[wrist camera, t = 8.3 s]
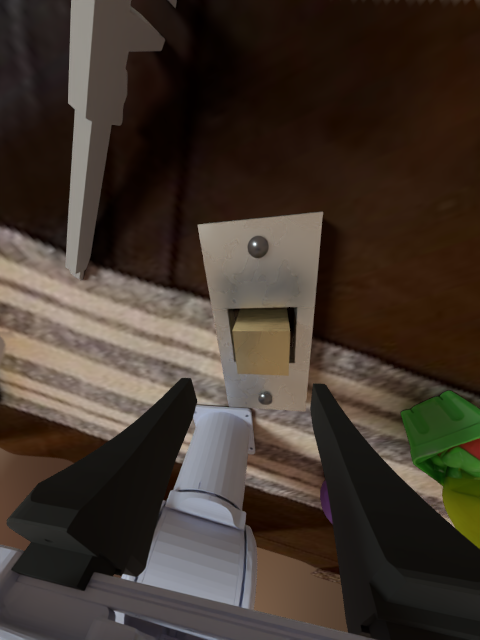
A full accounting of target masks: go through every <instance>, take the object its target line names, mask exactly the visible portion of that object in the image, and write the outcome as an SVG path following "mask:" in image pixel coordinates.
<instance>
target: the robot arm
mask: <svg viewBox="0 0 480 640" xmlns="http://www.w3.org/2000/svg"><path fill="white" fill-rule="evenodd" d="M196 404H197V399H196V395H195V391H194V387H193V384H192V380H191V378H181V379H180V380H179V381H178V382H177V383H176V384H175V385H174V386H173V387H172V388H171V389H170V390H169V391H168V392H167V393H166V394H165V395H164V396H163V397H162V398H161V399H160V400H159V401H158V402H157V403H155V404H154V405H153V406H152V407H151V408H150V409H149V410H148V411H147V412H145V413H144V414H143V415H142V416H141V417H140V418H139V419H137V420H136V421H135V422H134V423H133V424H131V425H130V426H129V427H128V428H126V429H125V430H124V431H122V432H121V433H120V434H118V435H117V436H116V437H114V438H113V439H111V440H110V441H108V442H107V443H105V444H104V445H103V446H101V447H100V448H98V449H97V450H95V451H94V452H92V453H91V454H89V455H87V456H86V457H84V458H83V459H81V460H79V461H78V462H76V463H74V464H73V465H71V466H69V467H68V468H66V469H64V470H62V471H60V472H58V473H57V474H55V475H53V476H51V477H50V478H48V479H46V480H44V481H42V482H40V483H38V485H37V486H36V487H35V488H34V489H33V490H32V491H31V493H30V494H29V495H28V496H27V497H26V498H25V500H24V501H23V502H22V503H21V504H20V505H19V506H18V508H17V509H16V510H15V511H14V512H13V513H12V515H11V516H10V517H9V518H8V519H7V526H8V527H9V528H11V529H12V530H13V531H15V532H16V533H18V534H19V535H21V536H23V537H24V538H26V539H27V540H29V541H30V542H31V543H30V545H29V546H28V547H27V549H26V550H25V551H23V550H20V549H17V548H13V547H9V546H4V545H0V640H480V549H479V548H478V547H477V546H475V545H474V544H473V543H472V542H471V541H470V540H468V539H467V538H466V537H465V536H464V535H462V534H461V533H460V532H459V531H458V530H457V529H455V528H454V527H453V526H452V525H451V524H450V523H449V522H447V521H446V520H445V519H444V518H443V517H442V516H441V515H440V514H438V513H437V512H436V511H435V510H434V509H433V508H432V507H431V506H430V505H429V504H427V503H426V502H425V501H424V500H423V499H422V498H421V497H420V496H419V495H418V494H417V493H416V492H415V491H414V490H413V489H412V488H411V487H410V486H409V485H408V484H407V483H406V482H405V481H403V480H402V479H401V478H400V477H399V476H398V475H397V474H396V473H395V472H394V471H393V470H392V468H391V467H390V466H389V465H388V464H387V463H386V462H385V461H384V460H383V459H382V458H381V457H380V456H379V455H378V453H377V452H376V451H375V450H374V449H373V448H372V447H371V446H370V444H369V443H368V442H367V441H366V440H365V439H364V437H363V436H362V435H361V434H360V432H359V431H358V430H357V429H356V427H355V426H354V425H353V424H352V422H351V421H350V420H349V418H348V417H347V416H346V414H345V413H344V411H343V410H342V409H341V407H340V406H339V404H338V403H337V401H336V400H335V398H334V397H333V395H332V394H331V392H330V391H329V389H328V387H327V386H326V385H325V384H313V389H312V398H311V407H310V410H311V417H312V424H313V430H314V434H315V438H316V442H317V446H318V450H319V454H320V458H321V462H322V466H323V471H324V475H325V480H326V484H327V490H328V497H329V503H330V509H331V515H332V522H333V528H334V535H335V542H336V549H337V556H338V563H339V570H340V578H341V585H342V593H343V599H344V600H343V601H344V608H345V616H346V623H347V628H348V633H347V632H343V631H339V630H334V629H330V628H326V627H322V626H318V625H314V624H309V623H305V622H301V621H297V620H293V619H288V618H284V617H280V616H276V615H272V614H267V613H263V612H259V611H255V610H254V603H255V594H256V582H257V548H256V541H255V538H254V536H253V534H252V530H251V528H250V527H249V526H247V525H245V519H246V512H244V511H242V504H243V498H244V488H245V479H246V469H247V459H248V454H255V442H254V432H253V422H252V412H251V410H250V409H248V408H235V407H219V406H203V405H196ZM192 419H194V422H195V425H196V429H195V431H194V434H193V437H192V440H191V442H190V445H189V448H188V451H187V454H186V456H185V459H184V462H183V465H182V467H181V470H180V473H179V476H178V479H177V481H176V484H175V487H174V490H171V491H170V494H169V496H168V499H167V502H166V501H164V500H163V498H164V495H165V492H166V488H167V485H168V482H169V478H170V475H171V472H172V469H173V466H174V463H175V460H176V458H177V455H178V453H179V450H180V448H181V445H182V443H183V441H184V438H185V436H186V433H187V431H188V428H189V426H190V424H191V421H192ZM114 574H116V575H120V576H121V575H122V577H121V578H117V577H113V575H114Z"/></svg>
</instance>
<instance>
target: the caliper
mask: <svg viewBox="0 0 480 640" xmlns="http://www.w3.org/2000/svg"><path fill="white" fill-rule="evenodd" d="M168 1H169V2H170V3H171V4H172V5H173V6H174V7H175V8H176V3H177V0H168ZM130 3H131V0H71V27H70V59H69V92H68V103H69V104H70V105H71V106H72V107H73V108H75V119H74V135H73V151H72V167H71V183H70V200H69V216H68V232H67V250H66V268H68V269H69V270H70V273H71V274H72V275H74V276H75V277H76V278H78V279H79V280H82V279H83V275H84V270H86V268H87V265H88V262H89V260H90V257H91V250H92V244H93V237H94V231H95V224H96V218H97V211H98V205H99V199H100V193H101V186H102V180H103V174H104V168H105V162H106V156H107V150H108V143H109V137H110V131H111V125H121V124H122V119H123V104H124V102H125V100H126V96H127V71H126V69H125V68H126V63H127V57H128V52H129V51H161V50H162V48H163V45H164V42H165V39H164V38H163V37H162V36H161V35H160V34H159V32H158V31H157V30H156V29H155V28H154V27H153V26H152V25H151V24H150V23H149V22H148V21H147V20H146V19H145V18H144V17H143V16H142V15H141V14H140V13H139V12H137V11H136V10H135V9H133V8H132V7H131V6H130Z"/></svg>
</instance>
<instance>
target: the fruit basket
mask: <svg viewBox="0 0 480 640" xmlns="http://www.w3.org/2000/svg"><path fill="white" fill-rule="evenodd" d="M401 416H402V420H403V424H404V427H405V430H406V434H407V437H408V441H409V444H410V447H411V451H410V453H411V457H412V461H413V464H414V465H415V466H416V467H418V468H419V469H421V470H422V471H423V472H425V473H426V474H428V475H429V476H430V477H432V478H433V479H434V480H436V481H437V482H438V483H440V484H441V485H442V486H443V492H442V496H443V503H444V506H445V509H446V512H447V514H448V516H449V517H450V519H451V521H452V523H453V524H454V526H455V528H456V529H457V530H458V531H459V532H460V533H461V534H462V535H464V536H465V537H466V538H467V539H468V540H470V541H471V542H472V543H473V544H474V545H475V546H477V547H478V548H479V549H480V409H479V408H478V407H476V406H475V405H473V404H471V403H470V402H468V401H467V400H465V399H463V398H462V397H460V396H459V395H457V394H456V393H454V392H452V391H446V392H444V393H442V394H441V395H440V397H438V396H437V397H433V398H431V399H428V400H426V401H424V402H422V403H420V404H418V405H415V406H414V407H413V408H411V410H410V409H409V410H405V411H402V412H401Z"/></svg>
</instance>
